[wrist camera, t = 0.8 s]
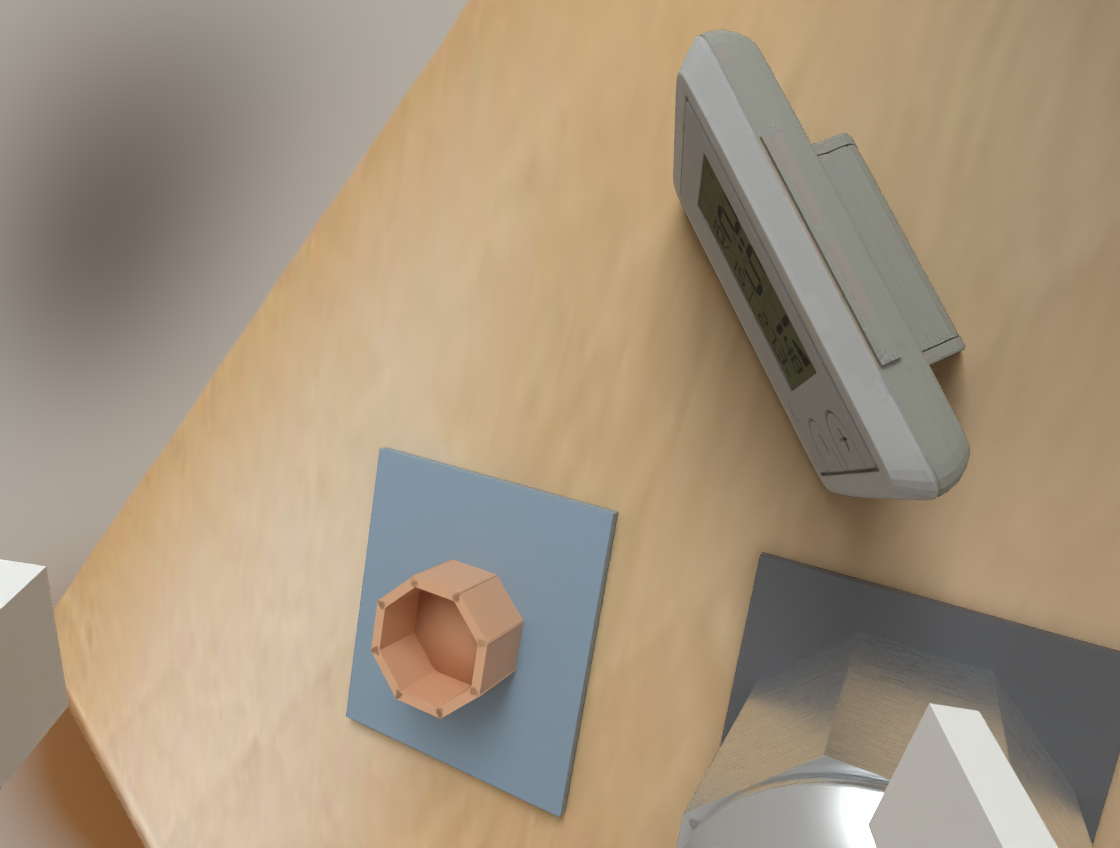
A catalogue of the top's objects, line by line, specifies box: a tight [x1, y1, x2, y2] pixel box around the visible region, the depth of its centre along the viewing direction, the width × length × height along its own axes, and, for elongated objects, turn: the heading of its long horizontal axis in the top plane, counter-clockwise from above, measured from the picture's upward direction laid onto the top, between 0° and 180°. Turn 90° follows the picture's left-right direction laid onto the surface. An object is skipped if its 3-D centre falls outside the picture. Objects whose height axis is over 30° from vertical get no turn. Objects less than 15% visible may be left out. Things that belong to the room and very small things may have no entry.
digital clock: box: [673, 30, 970, 500], centre depth 28 cm, size 16×9×11 cm, turn 16°
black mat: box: [720, 552, 1120, 844], centre depth 32 cm, size 16×14×1 cm
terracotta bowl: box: [371, 559, 524, 719], centre depth 39 cm, size 7×7×4 cm
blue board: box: [346, 448, 618, 817], centre depth 41 cm, size 16×14×1 cm
